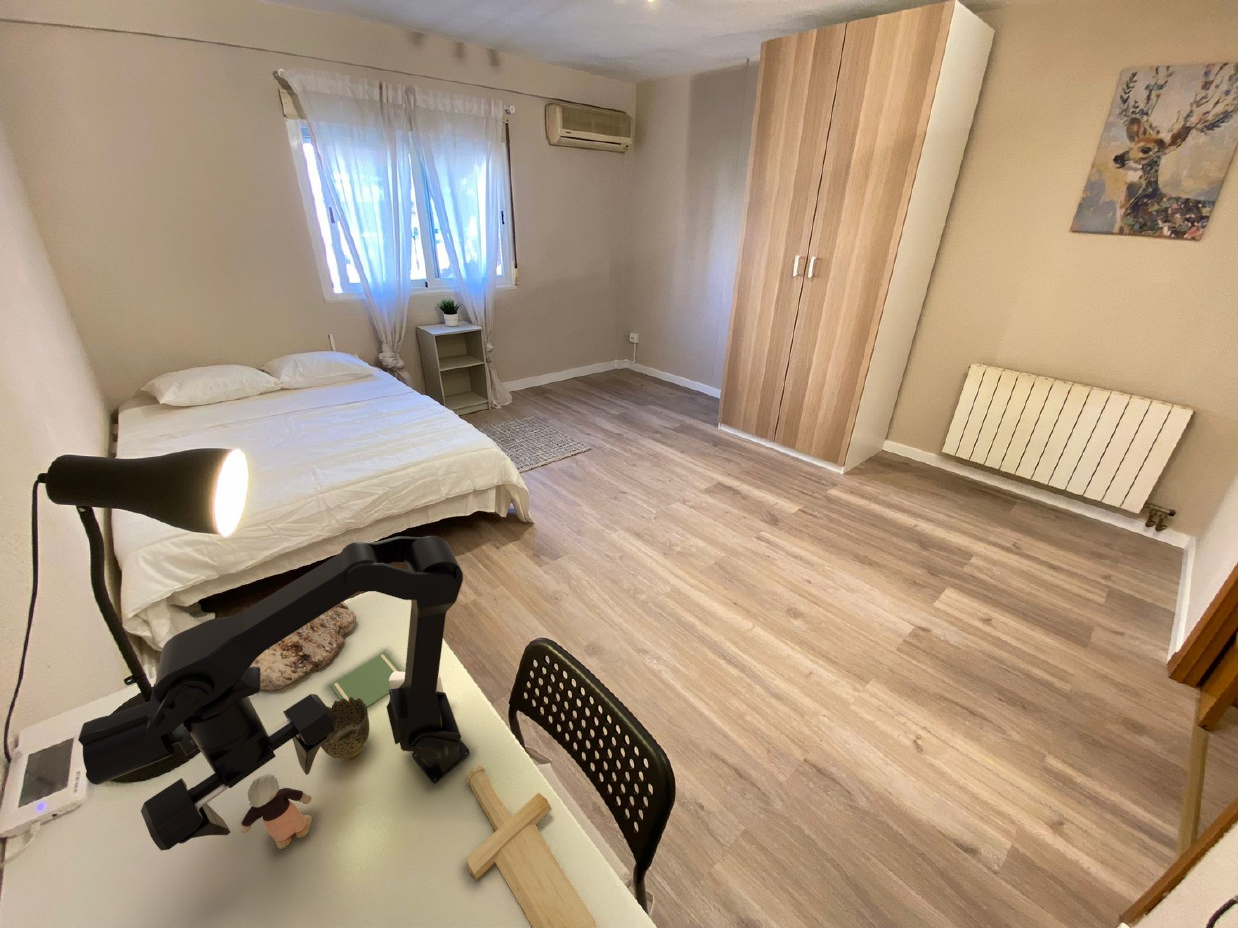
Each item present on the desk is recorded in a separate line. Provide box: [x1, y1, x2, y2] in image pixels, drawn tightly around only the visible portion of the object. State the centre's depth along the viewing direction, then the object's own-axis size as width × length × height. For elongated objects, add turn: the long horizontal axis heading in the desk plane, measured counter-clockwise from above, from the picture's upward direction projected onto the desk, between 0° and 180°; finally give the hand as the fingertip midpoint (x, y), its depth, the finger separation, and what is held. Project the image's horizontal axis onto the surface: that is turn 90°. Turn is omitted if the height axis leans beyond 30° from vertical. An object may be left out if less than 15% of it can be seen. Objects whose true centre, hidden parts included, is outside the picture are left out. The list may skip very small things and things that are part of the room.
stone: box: [250, 601, 357, 691], centre depth 94 cm, size 22×8×15 cm
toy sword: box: [465, 764, 598, 928], centre depth 65 cm, size 12×3×30 cm
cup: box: [320, 697, 370, 761], centre depth 77 cm, size 8×7×8 cm
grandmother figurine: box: [240, 772, 313, 850], centre depth 66 cm, size 8×4×13 cm, turn 134°
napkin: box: [329, 651, 403, 709], centre depth 90 cm, size 9×10×1 cm
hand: (268, 799), depth 65 cm, fingers open, 9 cm apart
